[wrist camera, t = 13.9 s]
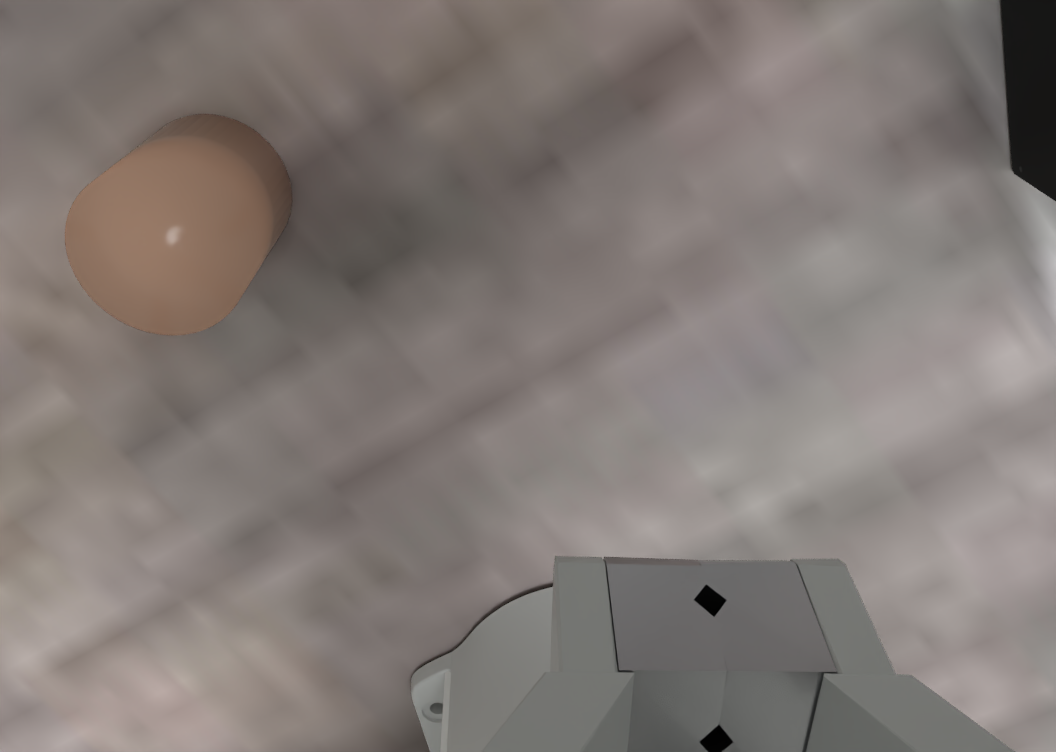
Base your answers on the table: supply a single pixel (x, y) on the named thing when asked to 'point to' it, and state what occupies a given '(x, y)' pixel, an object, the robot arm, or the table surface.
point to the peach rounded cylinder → (180, 225)
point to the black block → (1032, 89)
